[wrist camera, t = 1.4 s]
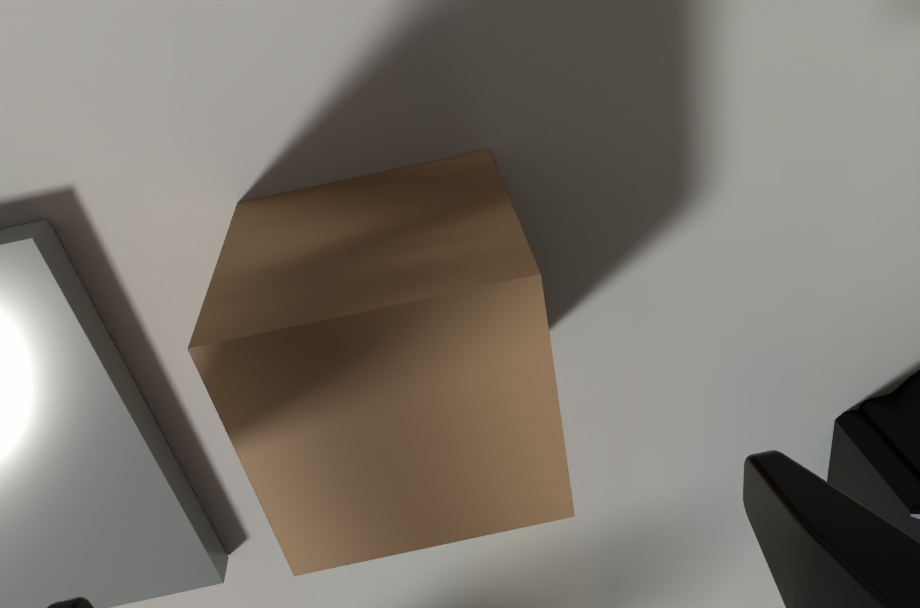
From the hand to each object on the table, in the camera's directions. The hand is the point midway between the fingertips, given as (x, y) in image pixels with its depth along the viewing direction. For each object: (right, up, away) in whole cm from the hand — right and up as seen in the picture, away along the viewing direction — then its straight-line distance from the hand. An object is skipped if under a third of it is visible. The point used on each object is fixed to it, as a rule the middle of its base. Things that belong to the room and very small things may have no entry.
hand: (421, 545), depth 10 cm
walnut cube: (-1, +4, +6) cm, 7 cm away
